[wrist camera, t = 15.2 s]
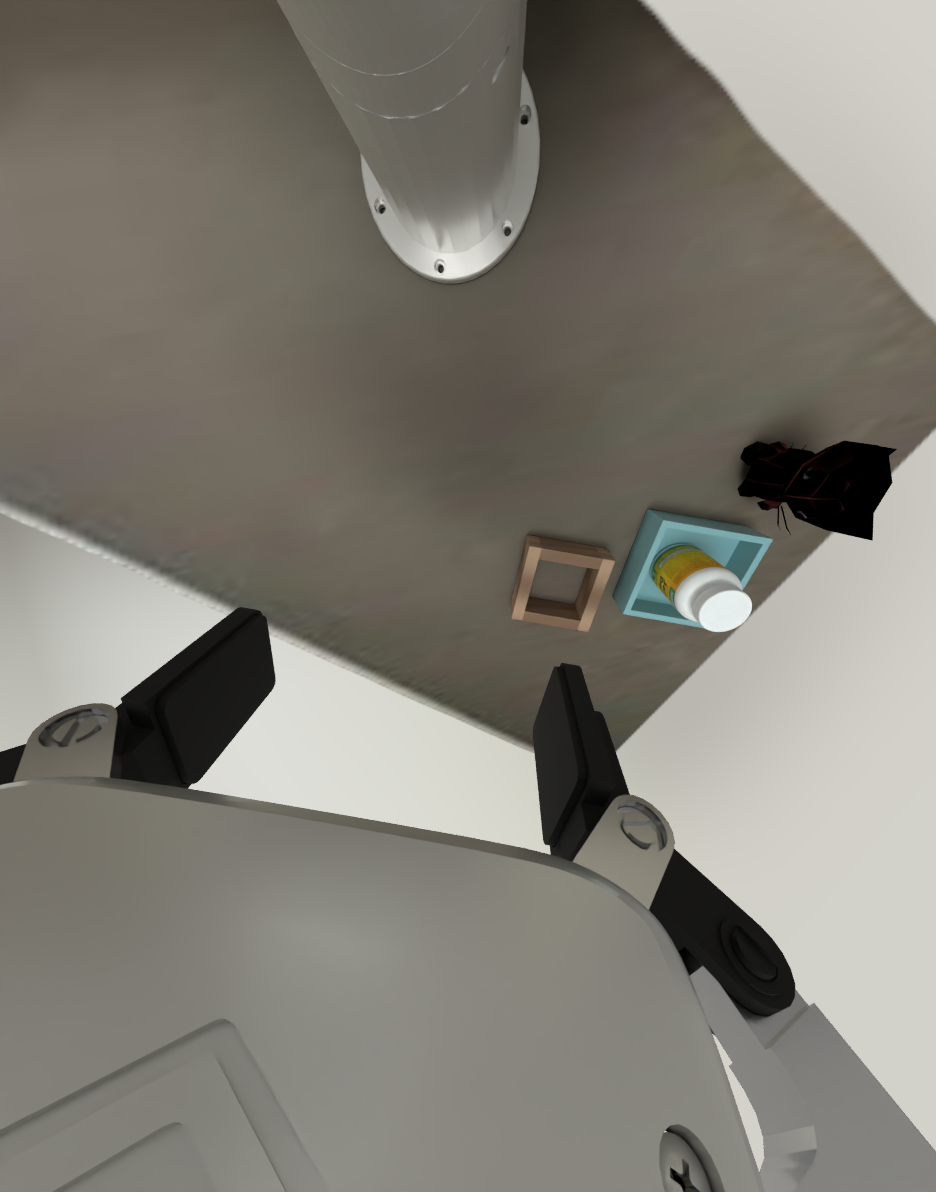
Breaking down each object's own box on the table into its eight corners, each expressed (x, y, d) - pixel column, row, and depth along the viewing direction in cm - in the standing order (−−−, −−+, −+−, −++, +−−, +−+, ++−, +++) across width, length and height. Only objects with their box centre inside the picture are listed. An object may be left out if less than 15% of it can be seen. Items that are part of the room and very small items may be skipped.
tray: (647, 508, 36) (663, 520, 32) (746, 526, 36) (773, 539, 32) (612, 595, 41) (622, 613, 37) (699, 611, 41) (718, 630, 37)
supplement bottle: (712, 568, 37) (774, 615, 29) (664, 597, 39) (709, 650, 31) (686, 531, 36) (744, 570, 27) (638, 563, 38) (677, 609, 29)
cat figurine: (724, 438, 32) (832, 454, 22) (811, 417, 31) (970, 423, 20) (720, 512, 35) (812, 558, 25) (798, 496, 34) (930, 537, 24)
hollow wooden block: (527, 534, 38) (529, 546, 35) (606, 548, 38) (615, 561, 35) (510, 603, 42) (511, 618, 39) (581, 615, 42) (588, 631, 39)
